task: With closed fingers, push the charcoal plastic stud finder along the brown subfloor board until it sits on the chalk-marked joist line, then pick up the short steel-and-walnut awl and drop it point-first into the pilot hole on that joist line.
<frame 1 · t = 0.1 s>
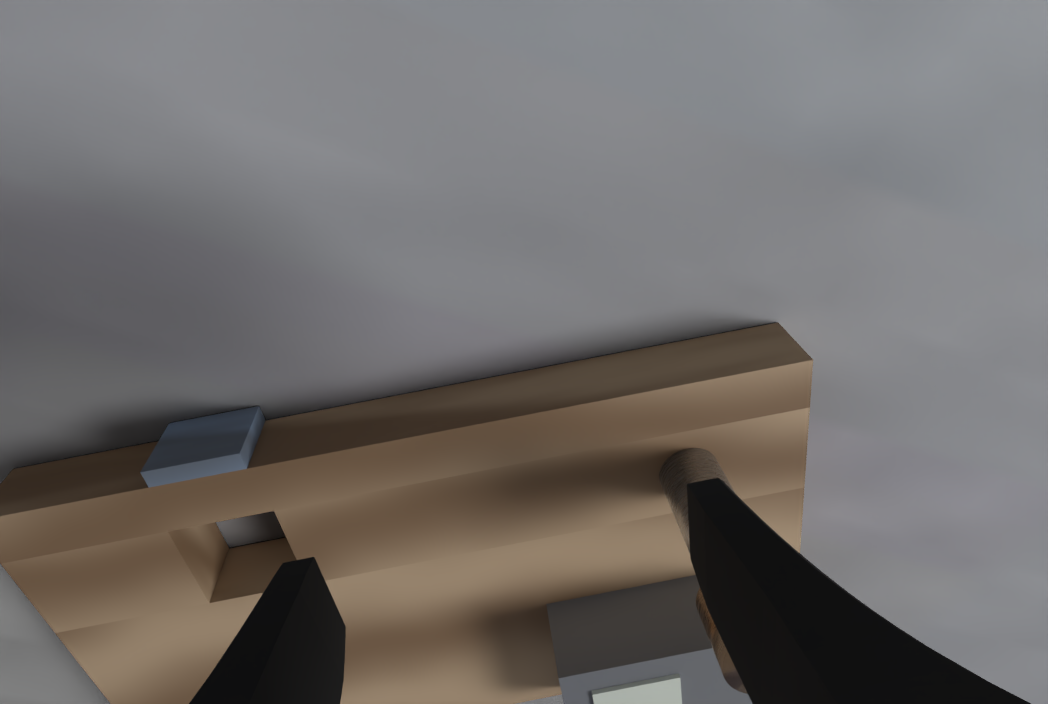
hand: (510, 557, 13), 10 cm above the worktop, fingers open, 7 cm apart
stud finder: (644, 629, 26), point 2 cm above the worktop, touching subfloor board
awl: (688, 471, 22), point 2 cm above the worktop, touching subfloor board
subfloor board: (443, 543, 26), on the worktop
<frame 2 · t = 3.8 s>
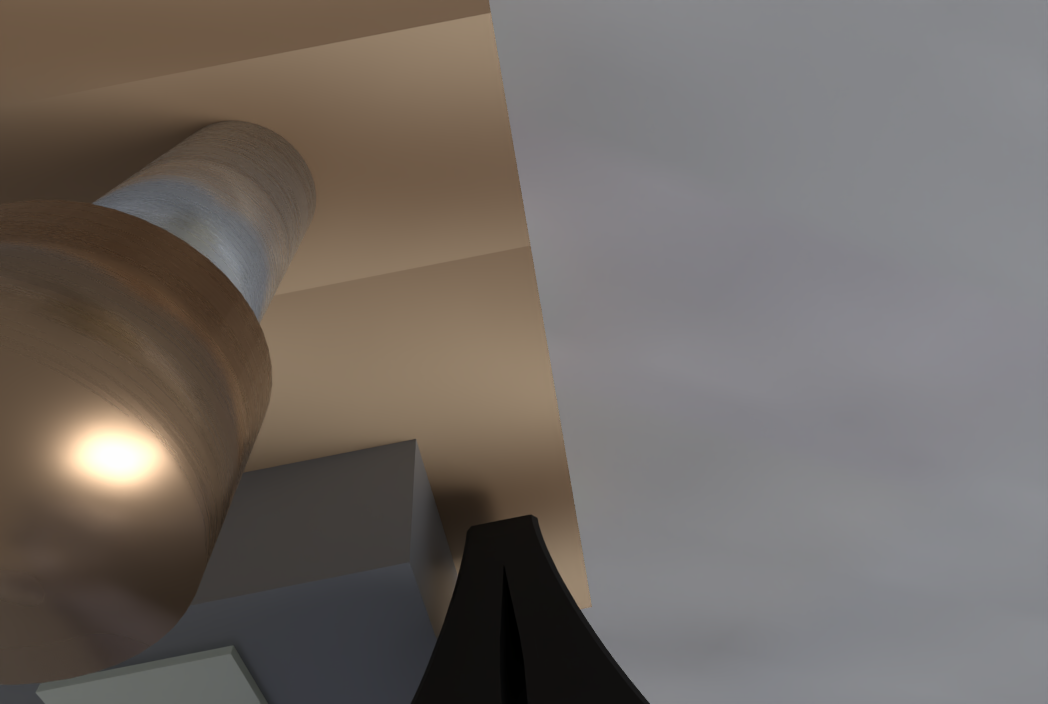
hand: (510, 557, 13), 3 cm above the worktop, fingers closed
stud finder: (275, 568, 14), point 3 cm above the worktop, touching gripper, subfloor board
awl: (246, 190, 10), point 2 cm above the worktop, touching subfloor board
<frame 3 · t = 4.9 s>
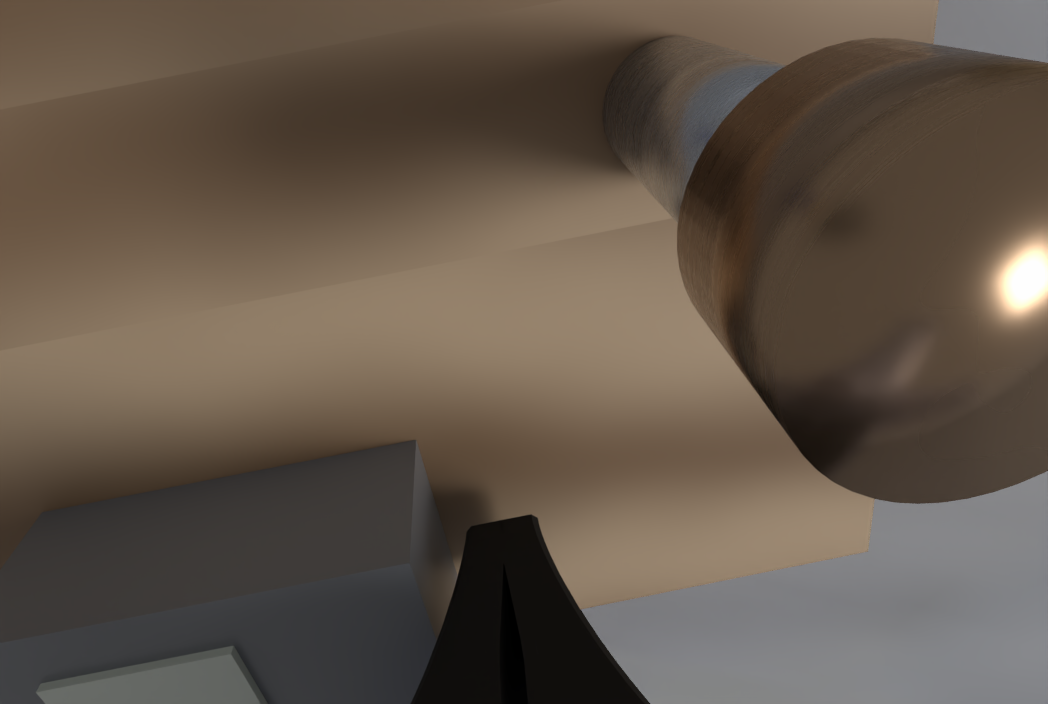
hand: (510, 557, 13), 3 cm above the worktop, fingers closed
stud finder: (275, 569, 14), point 3 cm above the worktop, touching gripper
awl: (668, 109, 10), point 2 cm above the worktop, touching subfloor board
subfloor board: (213, 346, 14), on the worktop
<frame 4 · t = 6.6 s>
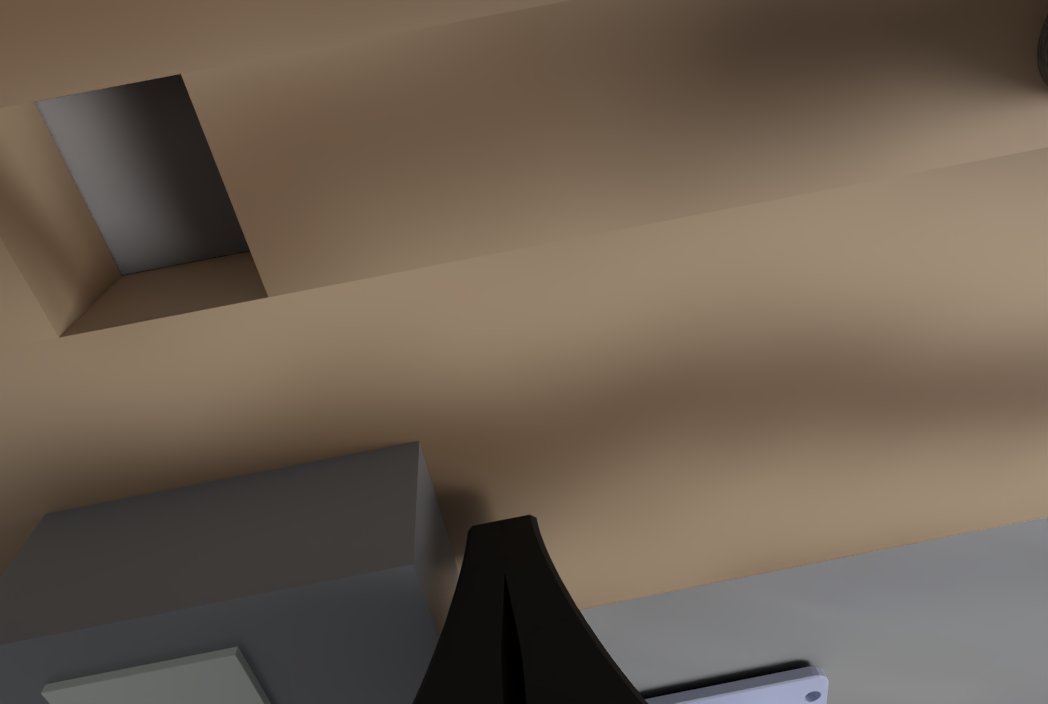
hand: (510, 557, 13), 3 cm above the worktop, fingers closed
stud finder: (279, 570, 14), point 2 cm above the worktop, touching gripper, subfloor board
subfloor board: (531, 284, 14), on the worktop
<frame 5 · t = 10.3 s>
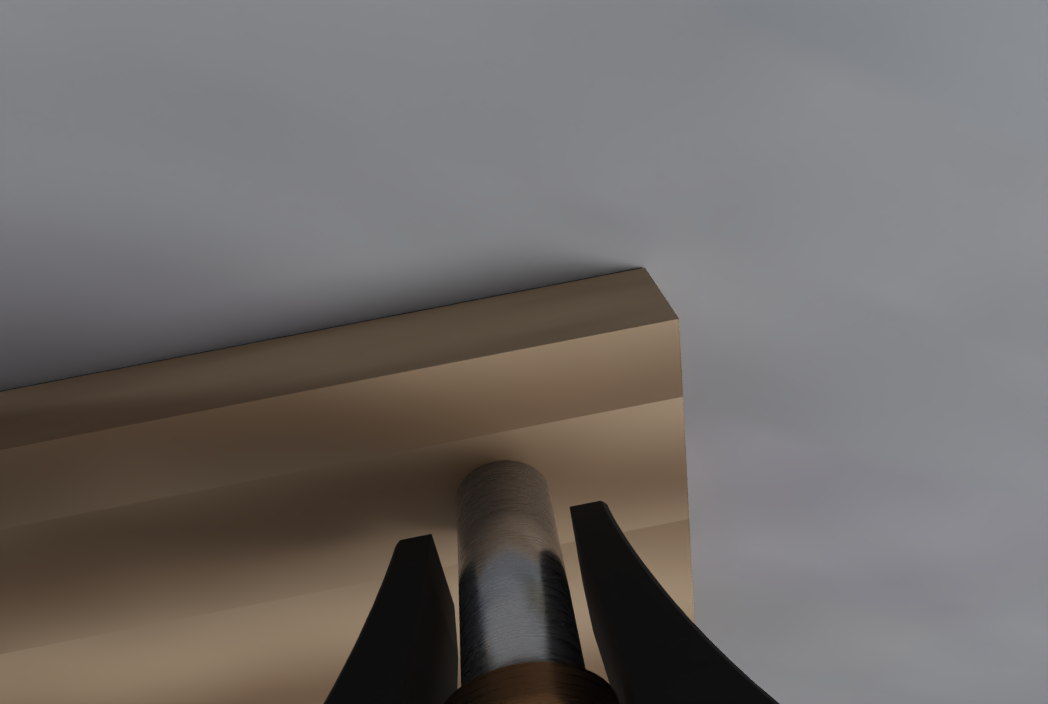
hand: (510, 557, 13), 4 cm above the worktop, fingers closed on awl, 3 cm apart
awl: (503, 497, 15), point 2 cm above the worktop, touching gripper, subfloor board
subfloor board: (191, 594, 18), on the worktop
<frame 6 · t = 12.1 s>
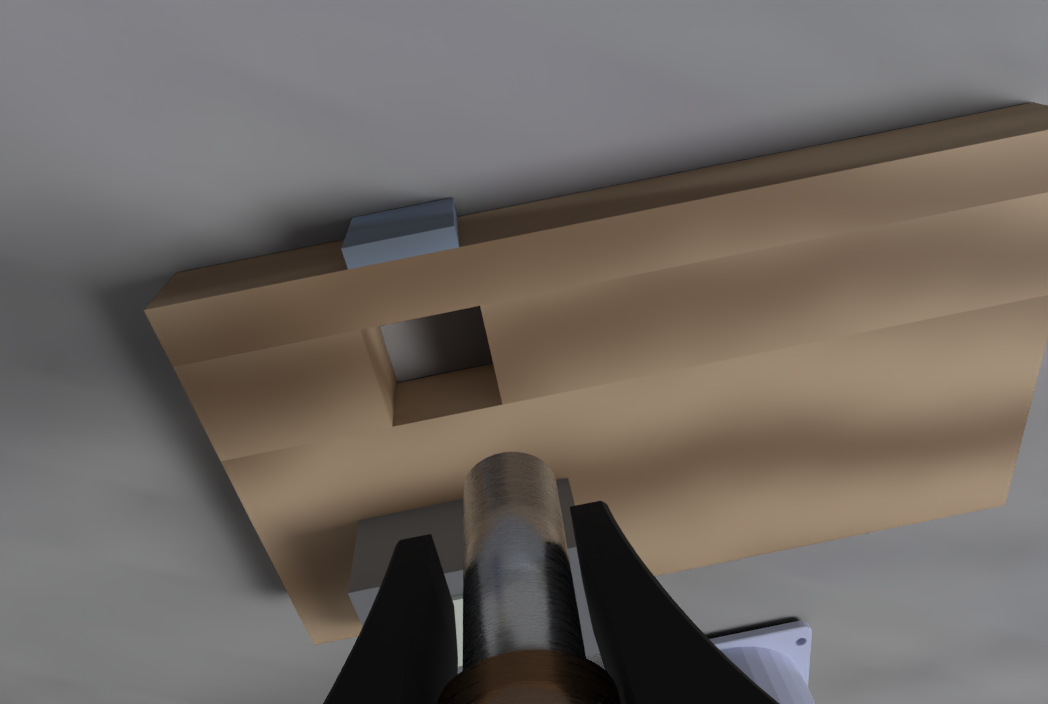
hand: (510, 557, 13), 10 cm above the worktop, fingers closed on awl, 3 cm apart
stud finder: (478, 552, 24), point 2 cm above the worktop, touching subfloor board
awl: (510, 488, 15), point 8 cm above the worktop, touching gripper
subfloor board: (627, 382, 24), on the worktop
when the fingers open (3 cm above the worktop, at t = 14.3 s): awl drops 1 cm, resting in subfloor board.
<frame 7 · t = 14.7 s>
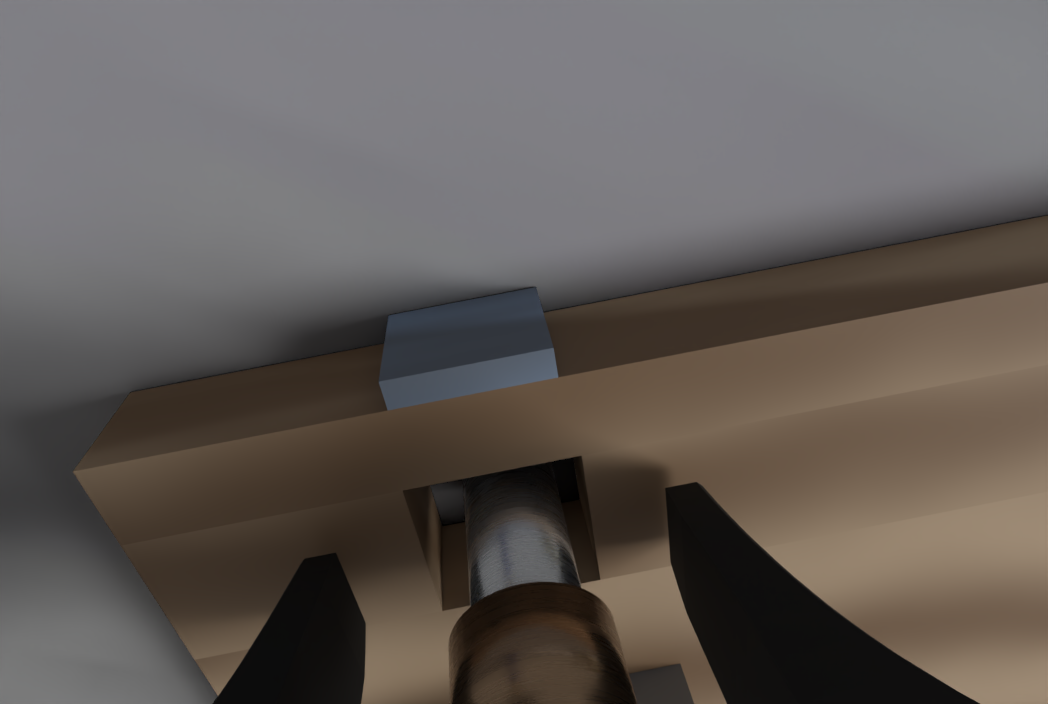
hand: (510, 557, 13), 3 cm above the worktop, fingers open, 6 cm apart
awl: (504, 455, 16), resting in subfloor board
subfloor board: (752, 519, 18), on the worktop
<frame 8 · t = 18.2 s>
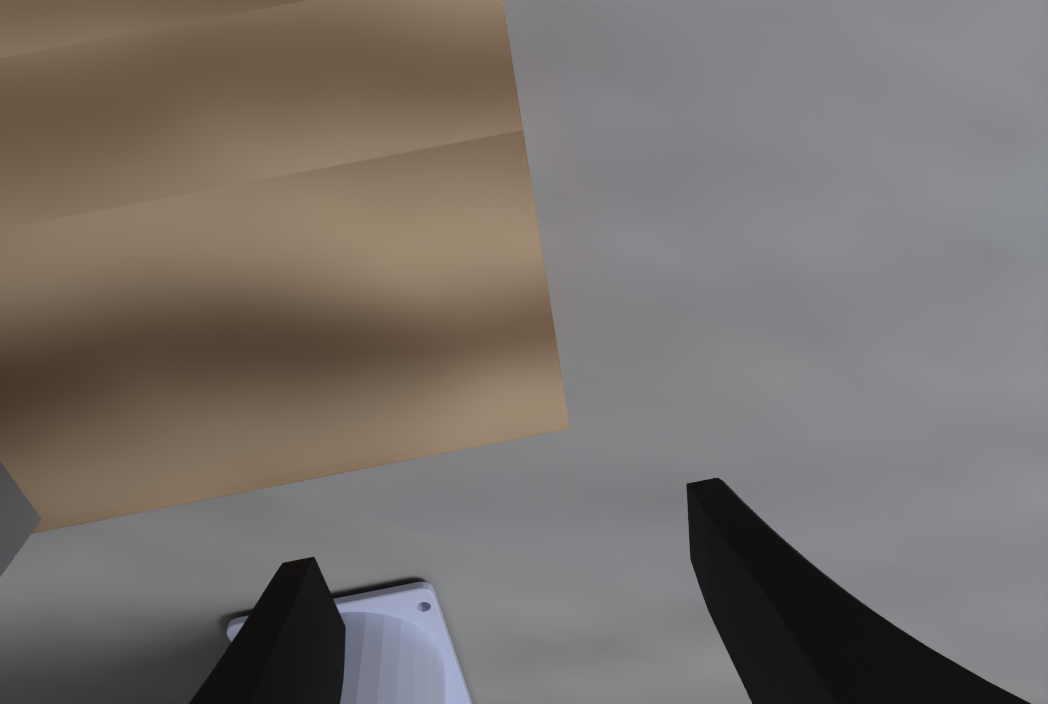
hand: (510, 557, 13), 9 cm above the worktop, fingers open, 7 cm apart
subfloor board: (62, 264, 19), on the worktop
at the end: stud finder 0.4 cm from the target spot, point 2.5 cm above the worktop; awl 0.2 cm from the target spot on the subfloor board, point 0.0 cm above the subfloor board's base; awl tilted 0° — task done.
